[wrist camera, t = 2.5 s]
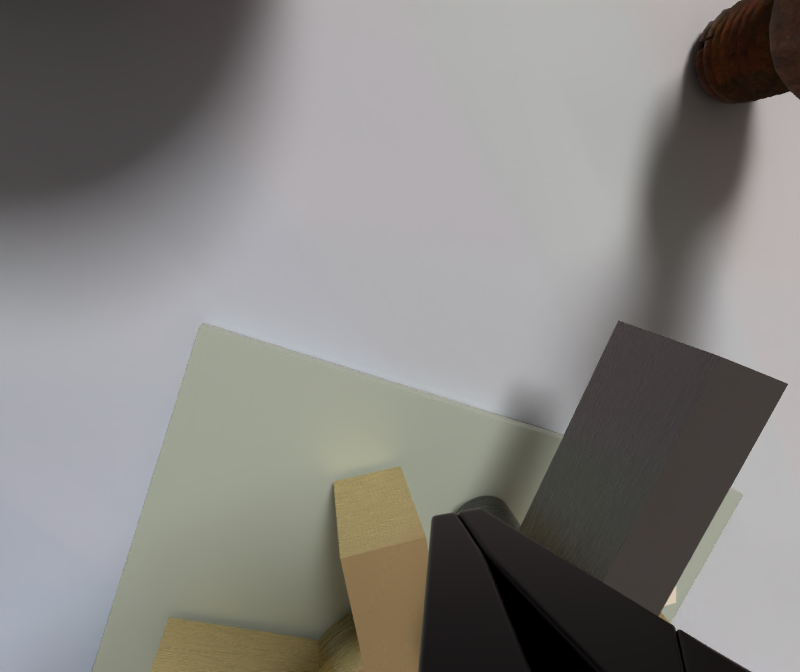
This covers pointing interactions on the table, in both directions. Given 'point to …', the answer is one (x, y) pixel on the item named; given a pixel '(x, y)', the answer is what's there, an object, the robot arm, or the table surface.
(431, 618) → the robot arm
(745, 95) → the bolt
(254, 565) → the base plate
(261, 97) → the table surface
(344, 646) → the multicoloured angular piece
